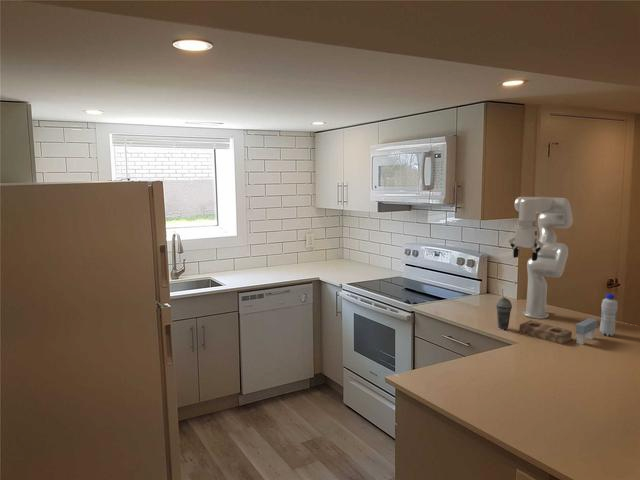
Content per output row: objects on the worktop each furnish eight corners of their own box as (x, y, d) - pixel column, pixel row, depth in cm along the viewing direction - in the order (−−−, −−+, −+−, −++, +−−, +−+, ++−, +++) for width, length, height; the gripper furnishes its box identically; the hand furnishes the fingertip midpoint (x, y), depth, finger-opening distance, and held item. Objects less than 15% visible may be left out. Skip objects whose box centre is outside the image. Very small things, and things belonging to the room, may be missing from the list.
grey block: (588, 336, 224) (589, 317, 222) (596, 338, 221) (597, 319, 219) (574, 343, 215) (576, 324, 214) (582, 345, 212) (584, 326, 211)
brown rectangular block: (519, 332, 229) (519, 324, 229) (529, 327, 235) (530, 320, 235) (561, 344, 214) (561, 335, 213) (571, 339, 220) (571, 330, 219)
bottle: (599, 335, 224) (602, 294, 221) (598, 331, 230) (601, 291, 227) (615, 337, 221) (619, 296, 218) (614, 333, 227) (618, 292, 224)
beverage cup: (508, 332, 230) (510, 292, 227) (493, 329, 234) (495, 290, 231) (512, 328, 236) (514, 289, 232) (497, 325, 240) (499, 286, 237)
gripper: (548, 225, 224) (546, 260, 226) (515, 221, 237) (513, 255, 240) (539, 226, 219) (537, 262, 222) (506, 223, 233) (504, 257, 236)
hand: (524, 258), depth 231 cm, fingers open, 9 cm apart
